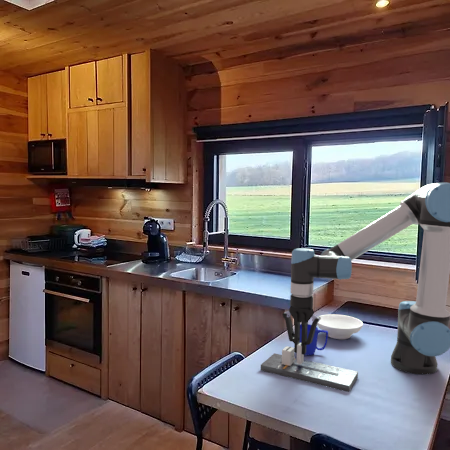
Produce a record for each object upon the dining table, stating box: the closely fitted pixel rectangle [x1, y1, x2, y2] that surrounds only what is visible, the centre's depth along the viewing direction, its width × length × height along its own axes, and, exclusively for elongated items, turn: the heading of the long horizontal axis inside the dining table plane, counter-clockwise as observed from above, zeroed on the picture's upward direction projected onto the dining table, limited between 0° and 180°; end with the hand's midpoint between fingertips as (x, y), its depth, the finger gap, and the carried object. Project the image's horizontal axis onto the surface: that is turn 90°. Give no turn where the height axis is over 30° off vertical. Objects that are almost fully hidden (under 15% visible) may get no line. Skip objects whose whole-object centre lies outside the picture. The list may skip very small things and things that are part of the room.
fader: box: [281, 345, 295, 366], centre depth 147 cm, size 3×4×5 cm
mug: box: [299, 323, 329, 356], centre depth 162 cm, size 8×12×10 cm
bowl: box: [317, 313, 364, 340], centre depth 181 cm, size 20×20×7 cm
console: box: [260, 353, 359, 393], centre depth 144 cm, size 30×12×2 cm, turn 60°
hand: (300, 362), depth 145 cm, fingers closed
